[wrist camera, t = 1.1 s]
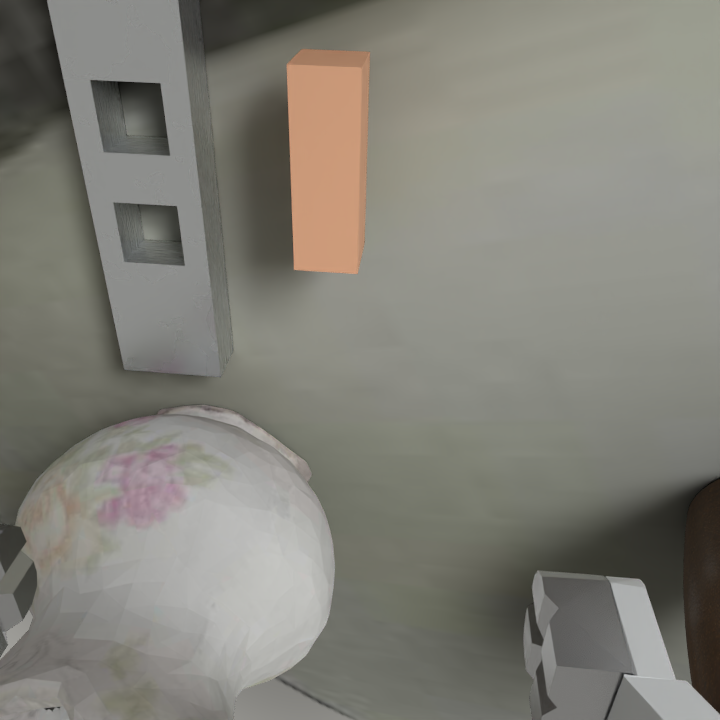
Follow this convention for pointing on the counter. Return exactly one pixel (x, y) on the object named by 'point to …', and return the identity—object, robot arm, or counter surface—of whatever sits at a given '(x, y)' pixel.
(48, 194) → the counter surface
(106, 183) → the rail
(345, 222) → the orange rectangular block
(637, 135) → the counter surface
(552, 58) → the counter surface
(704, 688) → the plant pot
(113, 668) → the ceramic pitcher
